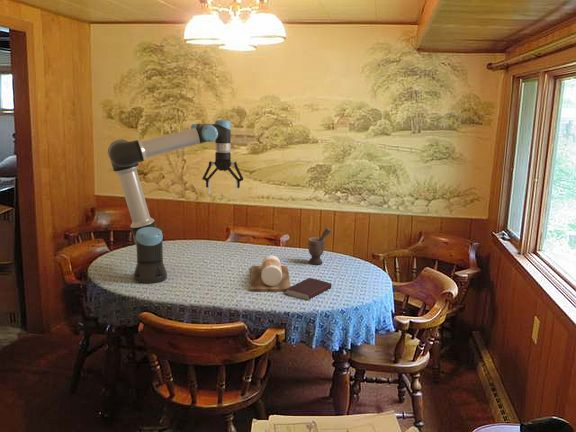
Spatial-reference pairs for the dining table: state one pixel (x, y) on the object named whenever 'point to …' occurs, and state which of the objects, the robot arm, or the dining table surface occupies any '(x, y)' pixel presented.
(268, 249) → the dining table surface
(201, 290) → the dining table surface
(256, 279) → the walnut board
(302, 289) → the book
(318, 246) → the mortar and pestle
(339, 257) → the dining table surface
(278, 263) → the fruit juice
